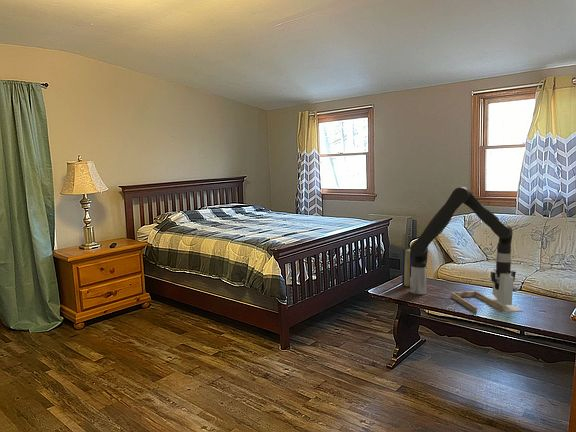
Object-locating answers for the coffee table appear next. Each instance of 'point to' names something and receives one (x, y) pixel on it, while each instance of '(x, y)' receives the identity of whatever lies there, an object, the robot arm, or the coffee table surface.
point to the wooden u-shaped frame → (458, 296)
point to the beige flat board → (506, 306)
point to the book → (406, 267)
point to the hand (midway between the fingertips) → (502, 288)
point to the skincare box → (504, 288)
